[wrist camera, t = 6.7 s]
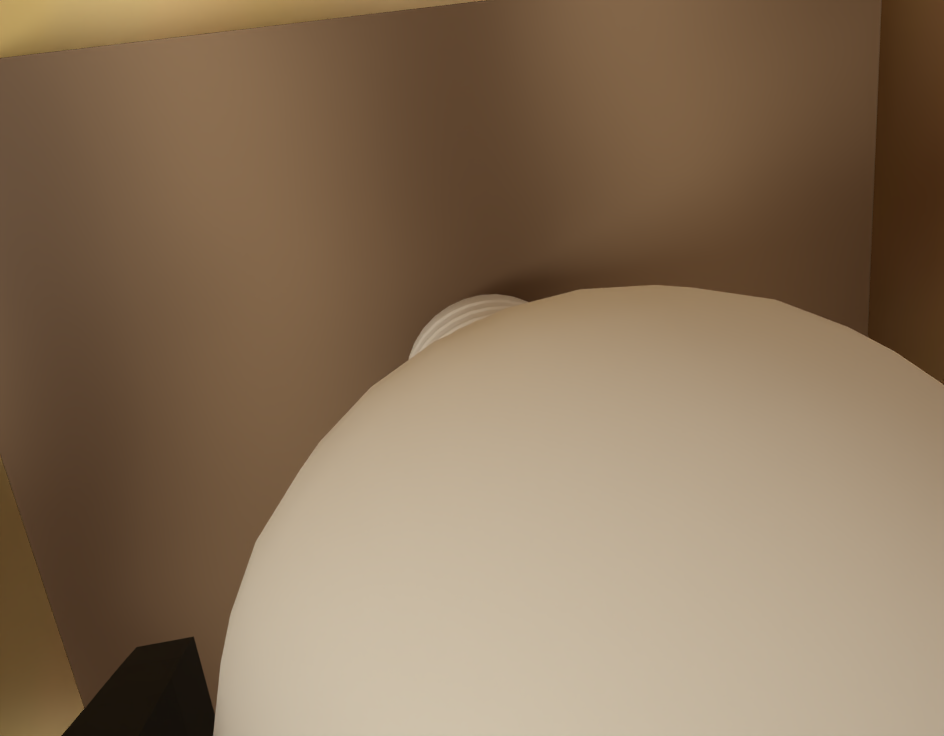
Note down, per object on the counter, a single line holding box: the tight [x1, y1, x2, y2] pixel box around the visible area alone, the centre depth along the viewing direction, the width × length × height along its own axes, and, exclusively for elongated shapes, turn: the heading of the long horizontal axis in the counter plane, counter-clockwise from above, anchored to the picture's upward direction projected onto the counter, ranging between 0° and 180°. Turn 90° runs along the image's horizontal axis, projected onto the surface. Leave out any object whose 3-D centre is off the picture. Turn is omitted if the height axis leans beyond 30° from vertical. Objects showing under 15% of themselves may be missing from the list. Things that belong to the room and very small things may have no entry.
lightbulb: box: [213, 285, 944, 736], centre depth 9 cm, size 6×6×11 cm
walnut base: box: [0, 0, 882, 713], centre depth 16 cm, size 14×14×2 cm
